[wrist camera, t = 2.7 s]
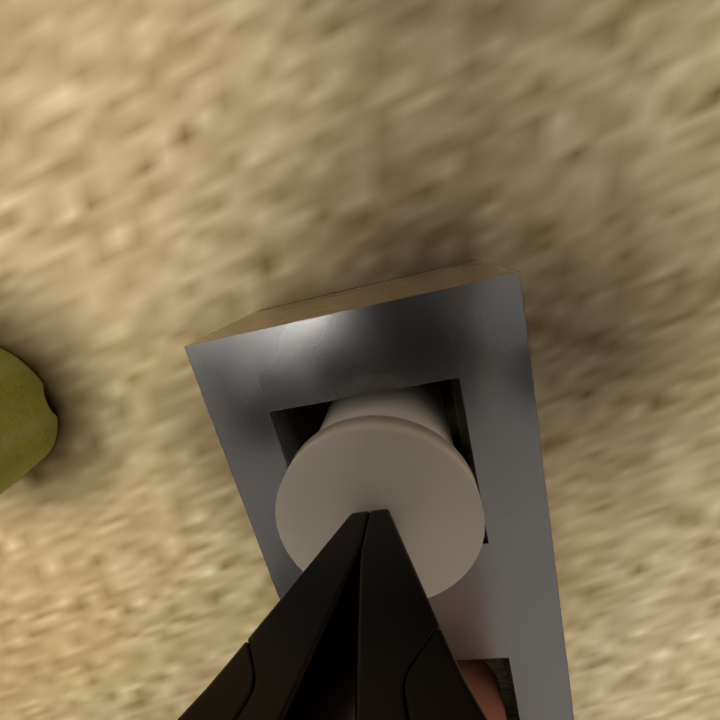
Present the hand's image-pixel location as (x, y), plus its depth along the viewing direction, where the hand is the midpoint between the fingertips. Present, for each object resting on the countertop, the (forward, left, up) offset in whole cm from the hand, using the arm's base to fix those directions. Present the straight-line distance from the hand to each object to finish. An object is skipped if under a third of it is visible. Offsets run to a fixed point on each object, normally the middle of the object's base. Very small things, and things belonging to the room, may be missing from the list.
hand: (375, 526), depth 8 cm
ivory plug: (0, 0, -6) cm, 6 cm away
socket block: (-9, 0, -7) cm, 11 cm away
